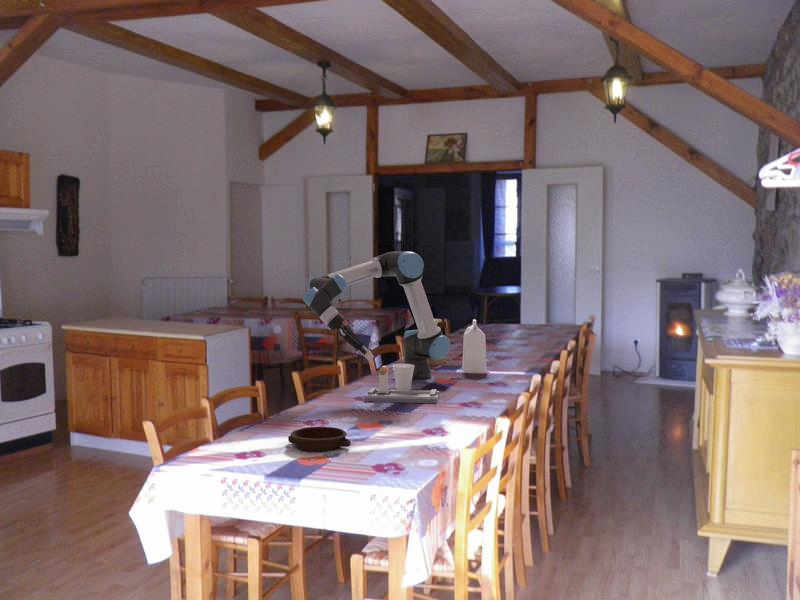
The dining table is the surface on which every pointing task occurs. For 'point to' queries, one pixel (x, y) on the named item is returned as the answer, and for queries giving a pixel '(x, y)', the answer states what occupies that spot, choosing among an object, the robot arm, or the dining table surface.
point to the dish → (319, 438)
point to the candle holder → (436, 362)
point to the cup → (403, 376)
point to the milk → (474, 350)
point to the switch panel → (404, 396)
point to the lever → (383, 381)
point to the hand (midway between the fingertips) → (371, 358)
